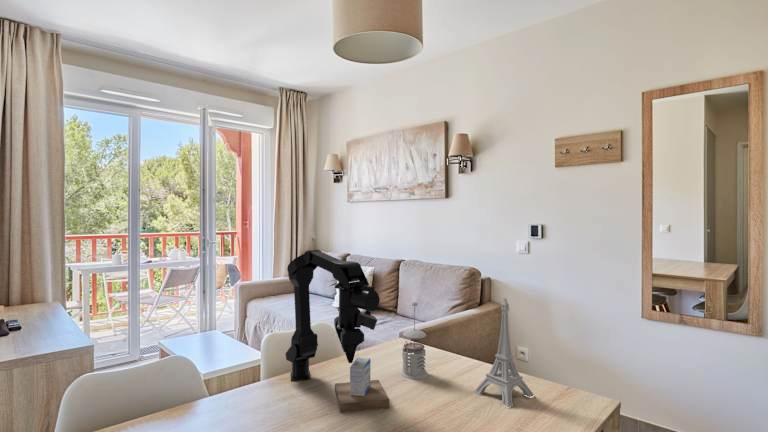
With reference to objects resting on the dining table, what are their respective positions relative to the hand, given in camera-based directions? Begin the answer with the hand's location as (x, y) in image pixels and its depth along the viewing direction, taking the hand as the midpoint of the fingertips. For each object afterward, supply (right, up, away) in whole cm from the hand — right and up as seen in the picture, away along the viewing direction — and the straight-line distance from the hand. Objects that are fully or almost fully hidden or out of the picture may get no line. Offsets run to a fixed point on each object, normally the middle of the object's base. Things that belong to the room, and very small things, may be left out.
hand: (347, 357), depth 122 cm
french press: (+21, -13, +20) cm, 32 cm away
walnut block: (+4, -13, +1) cm, 13 cm away
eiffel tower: (+48, -14, +5) cm, 50 cm away
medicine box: (+4, -11, +1) cm, 11 cm away
